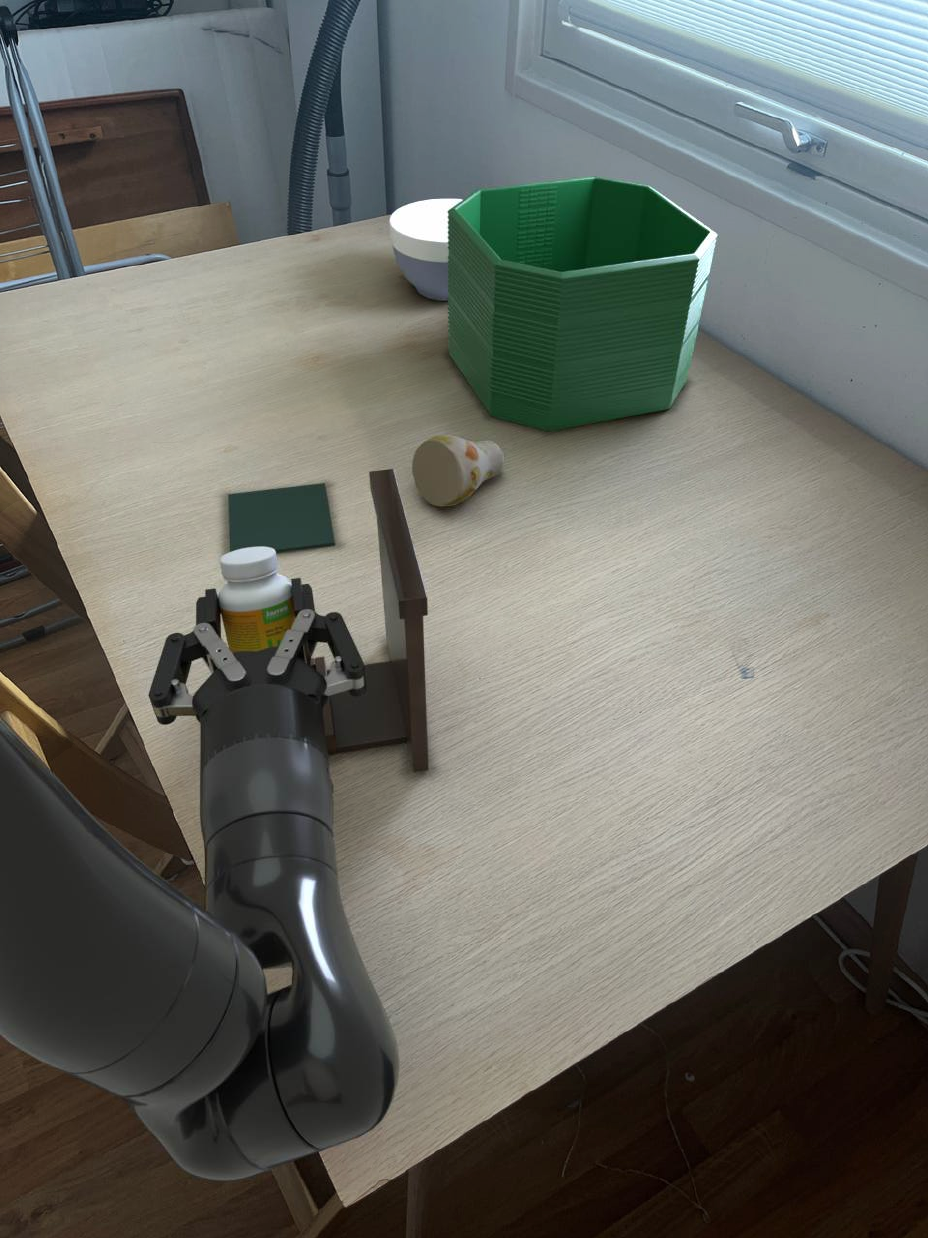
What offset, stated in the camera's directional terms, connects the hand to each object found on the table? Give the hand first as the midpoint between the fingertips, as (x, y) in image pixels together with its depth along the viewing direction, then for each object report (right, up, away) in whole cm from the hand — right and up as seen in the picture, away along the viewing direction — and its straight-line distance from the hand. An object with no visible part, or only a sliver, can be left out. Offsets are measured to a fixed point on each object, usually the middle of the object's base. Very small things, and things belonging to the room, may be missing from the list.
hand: (255, 592), depth 64 cm
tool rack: (+4, -10, +7) cm, 12 cm away
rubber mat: (-3, +8, +25) cm, 26 cm away
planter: (+28, +30, +47) cm, 62 cm away
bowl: (+13, +46, +64) cm, 80 cm away
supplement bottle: (+1, -6, +3) cm, 7 cm away
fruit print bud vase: (+15, +12, +29) cm, 35 cm away
